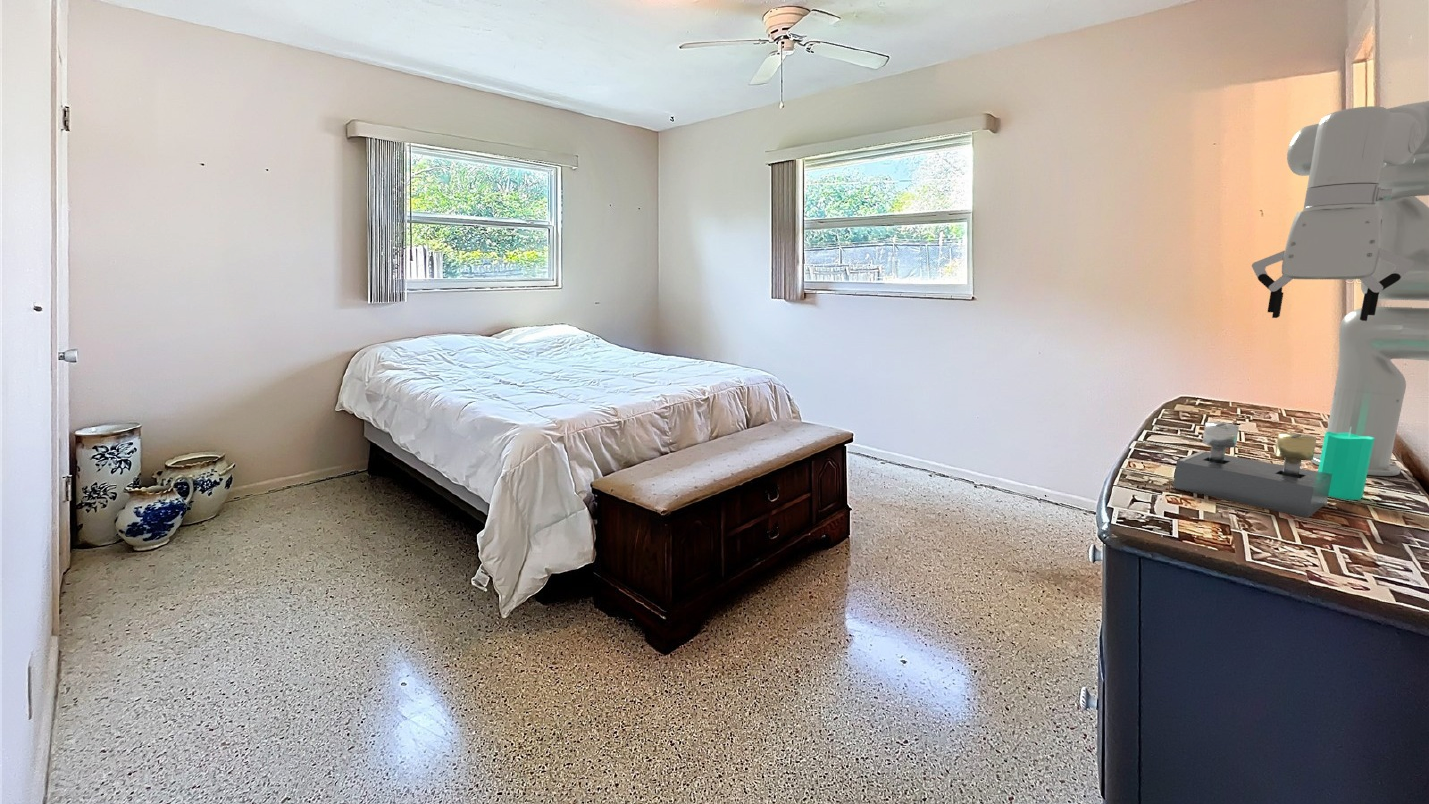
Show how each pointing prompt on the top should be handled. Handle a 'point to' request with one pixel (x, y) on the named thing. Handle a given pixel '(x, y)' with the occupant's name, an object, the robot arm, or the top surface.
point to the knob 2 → (1294, 451)
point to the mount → (1253, 483)
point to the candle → (1346, 463)
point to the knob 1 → (1219, 439)
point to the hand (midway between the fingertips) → (1317, 318)
